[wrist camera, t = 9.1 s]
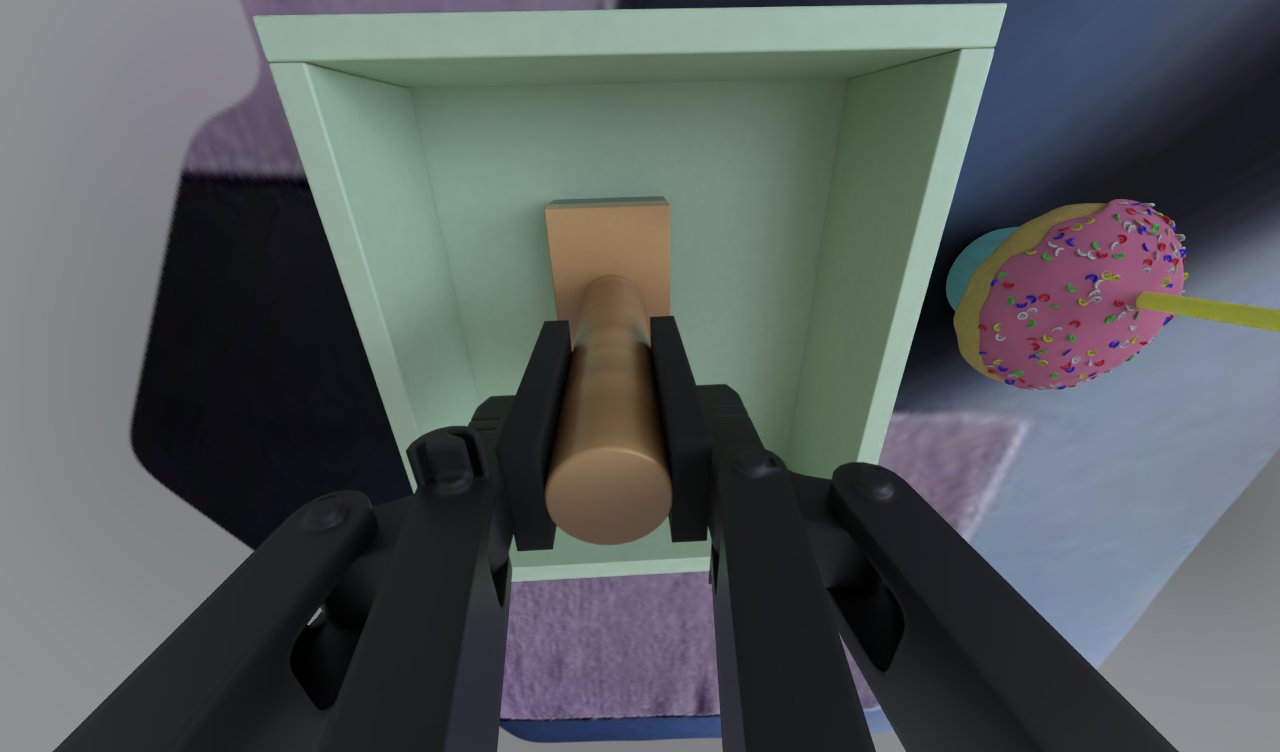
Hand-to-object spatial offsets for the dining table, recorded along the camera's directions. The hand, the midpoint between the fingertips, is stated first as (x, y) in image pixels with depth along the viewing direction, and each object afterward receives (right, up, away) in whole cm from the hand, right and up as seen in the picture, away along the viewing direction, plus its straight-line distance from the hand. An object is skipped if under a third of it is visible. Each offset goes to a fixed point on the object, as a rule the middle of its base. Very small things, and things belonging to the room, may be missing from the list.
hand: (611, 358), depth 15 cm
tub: (+1, +3, +9) cm, 10 cm away
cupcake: (+20, +5, +10) cm, 23 cm away
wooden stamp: (0, +4, +8) cm, 9 cm away
